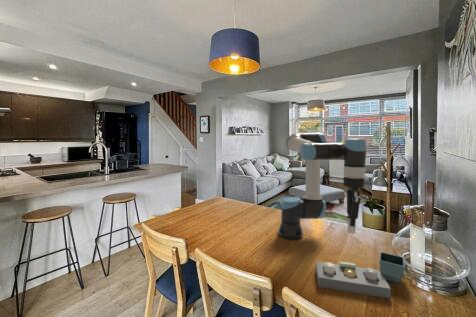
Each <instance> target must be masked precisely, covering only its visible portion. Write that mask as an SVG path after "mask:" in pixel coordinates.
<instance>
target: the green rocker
mask: <svg viewBox="0 0 476 317" xmlns="http://www.w3.org/2000/svg"><path fill="white" fill-rule="evenodd" d="M339 265H340V267H345V268H352V269H355V268H356V267H357V265H356V263H354V262H348V261H347V262H346V261H339Z"/></svg>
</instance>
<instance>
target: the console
mask: <svg viewBox="0 0 476 317" xmlns="http://www.w3.org/2000/svg"><path fill="white" fill-rule="evenodd" d="M324 263H325V262H324V261H323V262H322V261H315V272H316V273H315V274H316V280H317V287H319V288H326V289H332V290H337V291H344V292H349V293H357V294H361V295H367V296H373V297H379V298H385V299H391V294H392V289H391V287H390V284H389V283H388V282H387V281H388V280H386V279H385V278H384V277H383V275H382V273H381V271H380V269H379V270H378V269H375V270H376V271H377V272H378V276H377V281H372V280H366V278H365V269H366V268H367V267H358V266H356V268H355V269H353V270H354V271H355V272H356V278H352V277H346V276H344V269H345V267H340V263H339V264H338V263H333V264H334V265H335V275H333V274H326V273H324ZM350 269H352V268H350Z"/></svg>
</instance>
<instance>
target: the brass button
mask: <svg viewBox="0 0 476 317" xmlns="http://www.w3.org/2000/svg"><path fill="white" fill-rule="evenodd" d="M344 276H346V277H352V278H356V272H355V271H354V270H353V269H350V268H345V269H344Z"/></svg>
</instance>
